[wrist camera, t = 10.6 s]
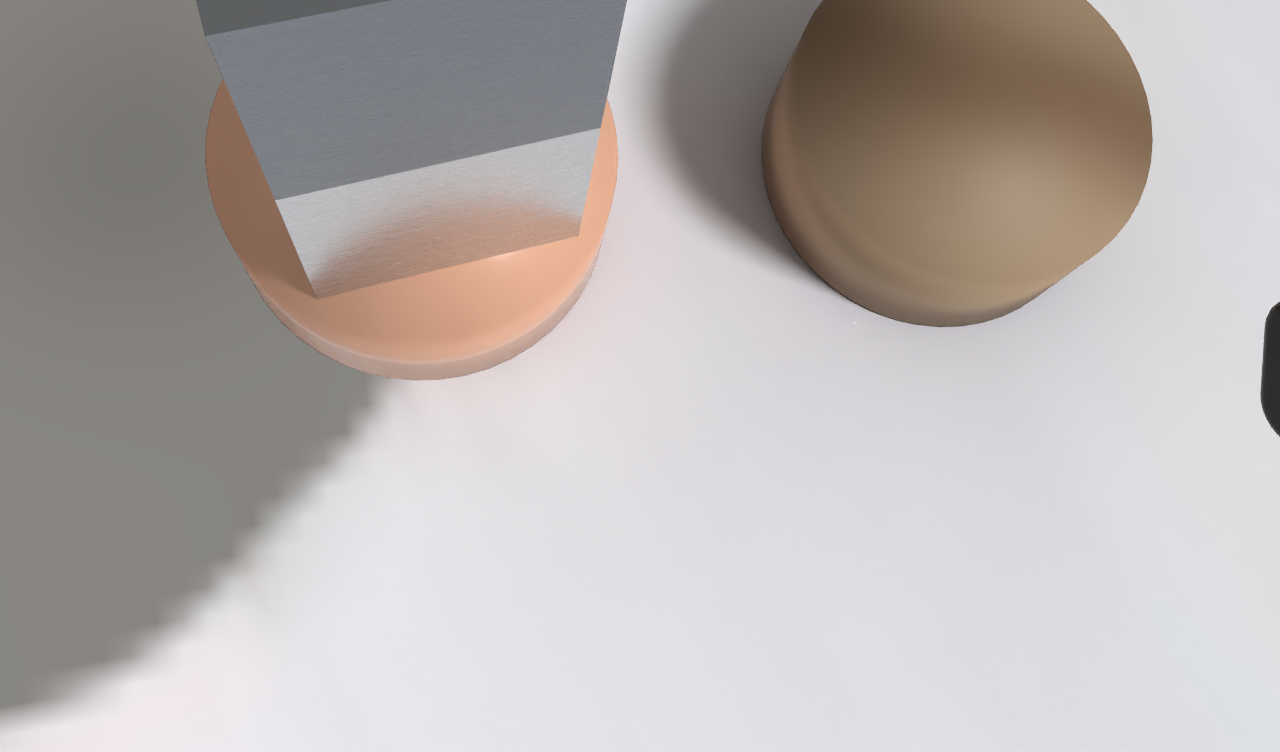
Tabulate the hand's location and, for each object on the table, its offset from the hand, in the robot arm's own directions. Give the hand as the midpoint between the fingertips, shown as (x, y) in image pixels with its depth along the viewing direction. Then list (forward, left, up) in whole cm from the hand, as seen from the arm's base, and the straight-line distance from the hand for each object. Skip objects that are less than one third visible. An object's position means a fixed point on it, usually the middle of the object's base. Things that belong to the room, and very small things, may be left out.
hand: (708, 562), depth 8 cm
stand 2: (+11, -4, -13) cm, 18 cm away
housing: (+7, +5, -11) cm, 14 cm away
